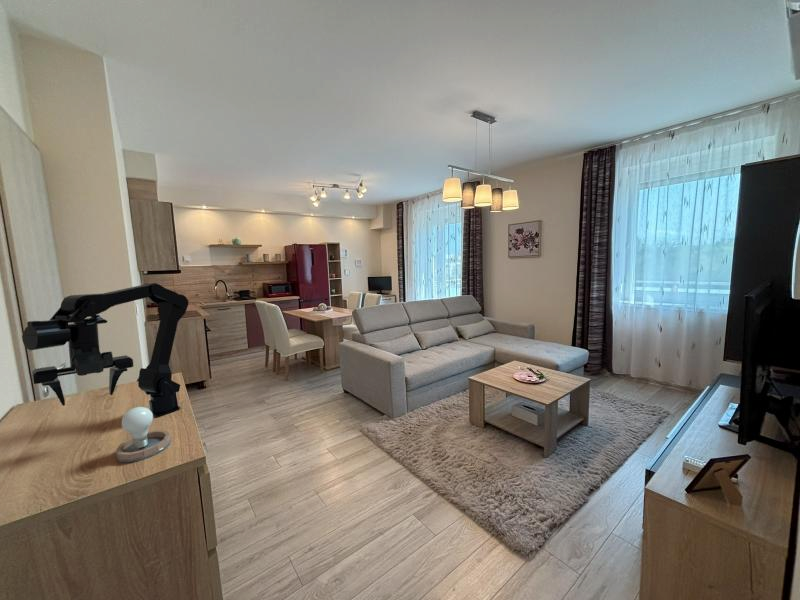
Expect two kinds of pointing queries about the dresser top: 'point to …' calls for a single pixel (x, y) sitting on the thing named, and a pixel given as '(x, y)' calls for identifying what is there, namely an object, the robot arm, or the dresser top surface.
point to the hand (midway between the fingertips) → (88, 399)
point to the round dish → (155, 445)
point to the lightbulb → (138, 424)
